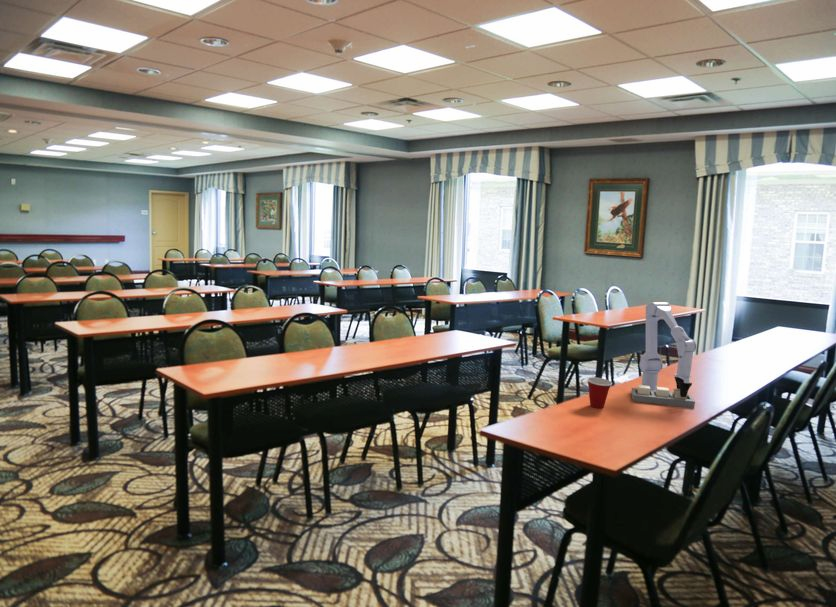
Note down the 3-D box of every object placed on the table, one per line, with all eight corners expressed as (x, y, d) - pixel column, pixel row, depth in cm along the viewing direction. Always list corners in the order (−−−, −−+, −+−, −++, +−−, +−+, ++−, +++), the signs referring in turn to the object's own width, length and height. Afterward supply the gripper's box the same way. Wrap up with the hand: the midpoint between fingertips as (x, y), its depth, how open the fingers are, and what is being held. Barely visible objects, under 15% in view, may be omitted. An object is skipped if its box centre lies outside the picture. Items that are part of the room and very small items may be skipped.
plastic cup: (605, 411, 260) (607, 384, 258) (581, 406, 266) (583, 380, 265) (613, 406, 269) (616, 380, 267) (590, 401, 275) (592, 375, 273)
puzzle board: (631, 393, 290) (632, 382, 289) (689, 400, 283) (690, 388, 282) (633, 401, 278) (634, 389, 277) (694, 408, 271) (695, 395, 270)
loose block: (672, 398, 281) (673, 388, 281) (684, 400, 280) (685, 389, 280) (674, 401, 276) (675, 391, 276) (686, 403, 275) (687, 392, 275)
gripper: (672, 361, 284) (669, 389, 286) (678, 368, 270) (675, 398, 272) (688, 362, 282) (685, 391, 284) (695, 370, 268) (692, 399, 270)
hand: (681, 394), depth 278 cm, fingers open, 7 cm apart
